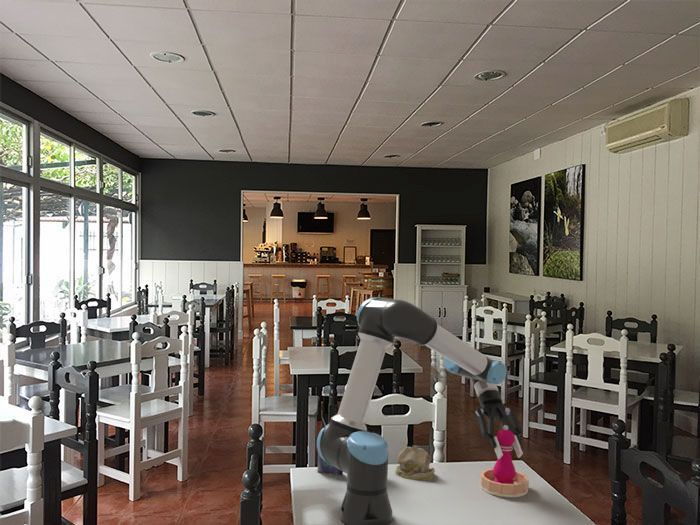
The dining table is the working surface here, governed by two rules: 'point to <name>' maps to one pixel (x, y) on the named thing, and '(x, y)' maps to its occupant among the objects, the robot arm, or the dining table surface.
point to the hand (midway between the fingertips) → (510, 456)
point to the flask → (327, 467)
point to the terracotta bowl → (504, 485)
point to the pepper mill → (505, 457)
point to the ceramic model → (414, 464)
